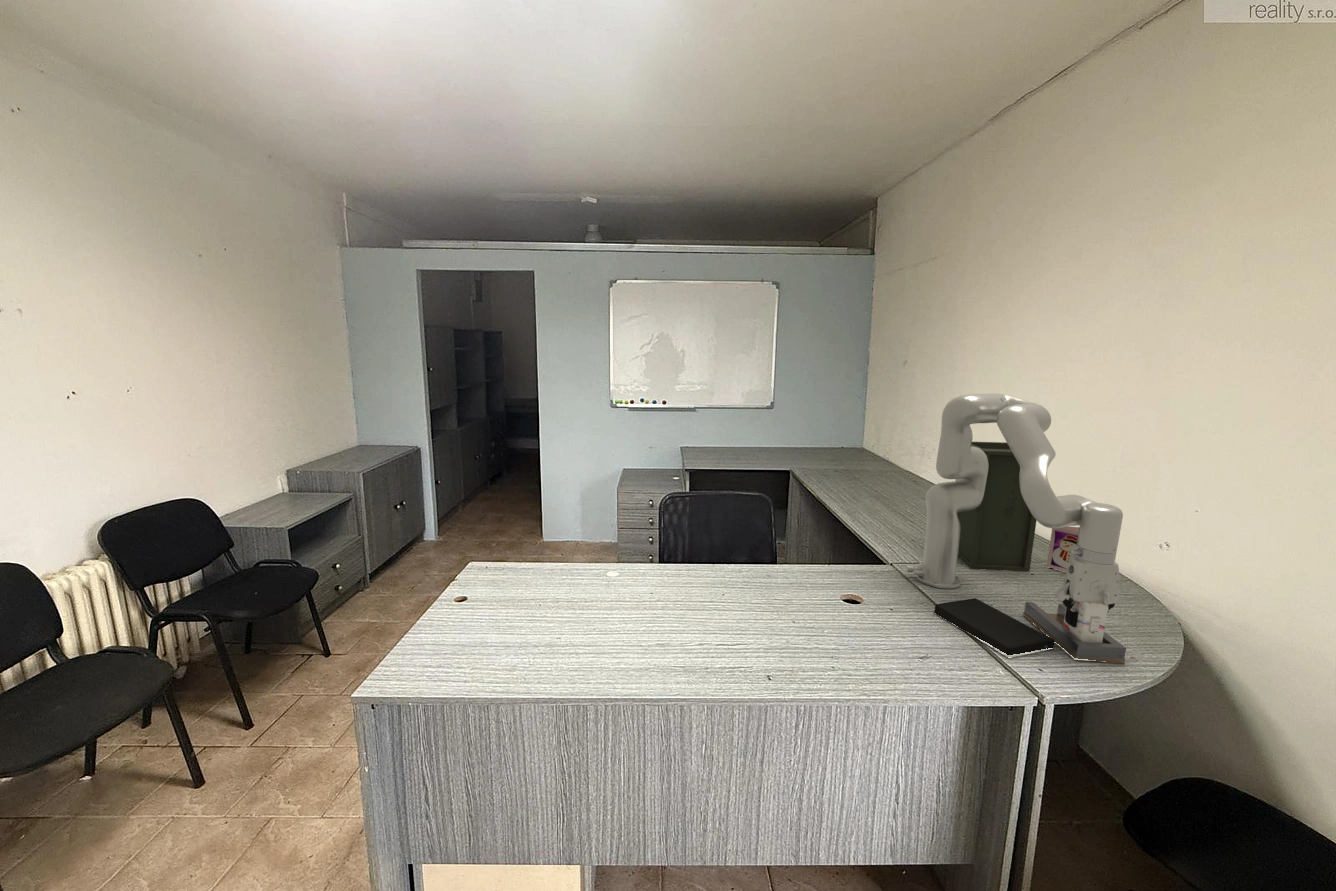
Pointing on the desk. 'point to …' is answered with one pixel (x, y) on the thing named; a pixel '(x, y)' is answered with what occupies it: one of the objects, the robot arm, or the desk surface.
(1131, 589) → the desk surface
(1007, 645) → the external hard drive
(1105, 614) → the ink cartridge box
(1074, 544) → the greeting card
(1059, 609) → the frame
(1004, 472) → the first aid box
